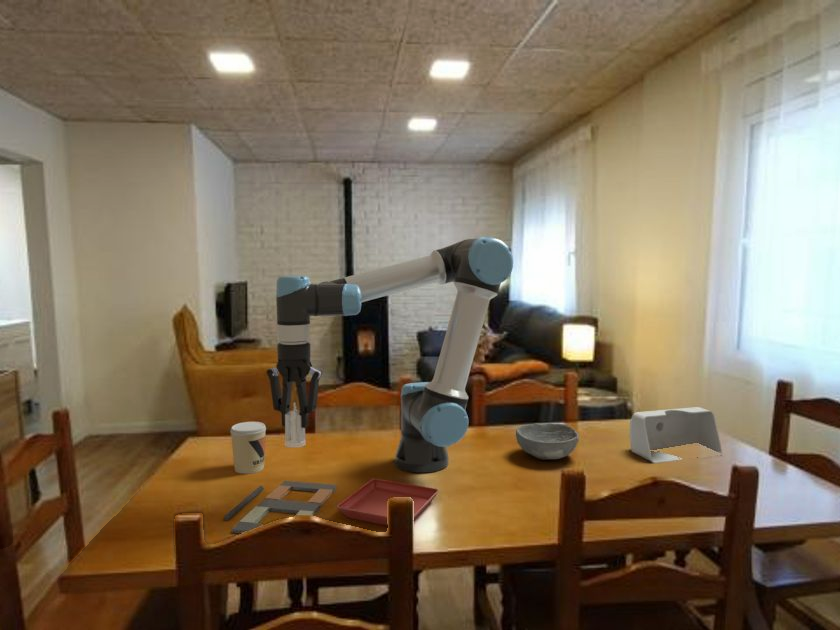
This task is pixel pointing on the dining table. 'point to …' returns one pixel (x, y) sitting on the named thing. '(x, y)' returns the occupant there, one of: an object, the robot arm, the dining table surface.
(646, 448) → the grey plastic housing
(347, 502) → the plant saucer
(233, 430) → the coffee cup
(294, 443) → the chess piece
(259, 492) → the rod
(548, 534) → the dining table surface
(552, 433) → the bowl
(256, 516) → the panel
